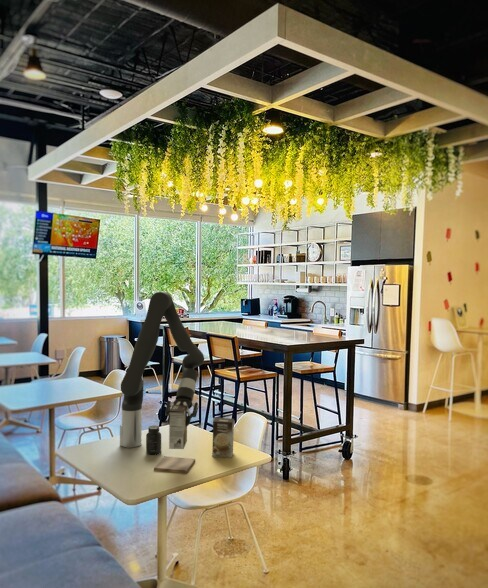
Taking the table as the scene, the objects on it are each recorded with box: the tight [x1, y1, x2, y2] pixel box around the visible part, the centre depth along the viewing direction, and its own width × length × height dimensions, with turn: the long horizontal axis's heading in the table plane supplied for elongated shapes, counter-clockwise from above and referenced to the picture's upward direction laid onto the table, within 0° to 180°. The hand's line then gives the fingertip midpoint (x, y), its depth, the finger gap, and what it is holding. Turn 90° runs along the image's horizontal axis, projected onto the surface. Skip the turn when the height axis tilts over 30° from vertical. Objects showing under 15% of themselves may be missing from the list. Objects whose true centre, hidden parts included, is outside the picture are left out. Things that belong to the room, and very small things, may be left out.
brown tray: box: [153, 455, 196, 474], centre depth 203 cm, size 14×13×1 cm
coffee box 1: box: [168, 405, 188, 450], centre depth 202 cm, size 9×6×16 cm
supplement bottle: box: [145, 425, 162, 456], centre depth 217 cm, size 7×7×12 cm
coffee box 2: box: [211, 416, 235, 459], centre depth 217 cm, size 9×6×16 cm
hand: (178, 424), depth 202 cm, fingers closed on coffee box 1, 7 cm apart
